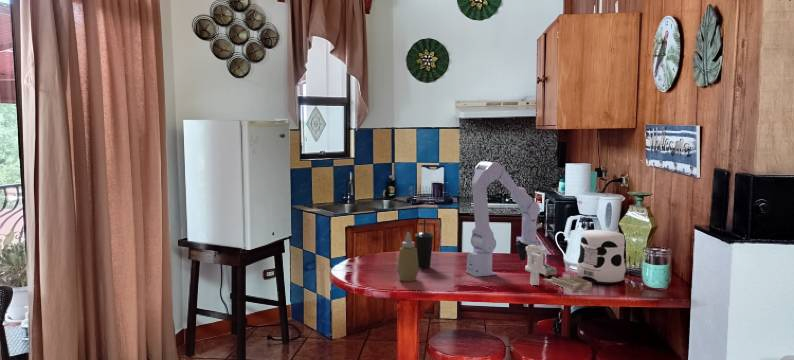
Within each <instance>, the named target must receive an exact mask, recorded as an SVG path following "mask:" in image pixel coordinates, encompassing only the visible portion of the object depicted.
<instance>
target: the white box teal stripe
mask: <svg viewBox="0 0 794 360" xmlns="http://www.w3.org/2000/svg"><path fill="white" fill-rule="evenodd" d="M543 266H544V267H545V271H544V272H539V274H542V275H544V276H543V277H544V279H548V278H549V276H550V275H551V276H552V277H555V278H556V277H557V274H558V273H557V272H558V271H557V269H558V268H557V267H554V266H551V265H549V264H547V263H546V264H543ZM552 277H551V278H552Z"/></svg>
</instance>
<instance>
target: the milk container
mask: <svg viewBox="0 0 794 360" xmlns="http://www.w3.org/2000/svg"><path fill="white" fill-rule="evenodd" d="M579 243H580V244H579V257H578V259H577V263H576V272H577V273H576V274H577V275H578V276H577V277H579V278H581V279H584V280H586V281H589V282H592V284H593V283H594V284H599V285H612V284H618V283H621V282H623V281H624V279H625V277H626V263H625V258H624V254H625V243H626V242H625V235H624V234H623V233H621V232H617V231H612V230H606V229H605V230H604V229H587V230H584V231H581V233H580V242H579Z"/></svg>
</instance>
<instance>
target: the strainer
mask: <svg viewBox="0 0 794 360" xmlns="http://www.w3.org/2000/svg"><path fill="white" fill-rule="evenodd" d="M536 249H540V250H536ZM546 251H547V249H546V247H545V246H543V245H542V246H536V245H533V244H532V245H528V246H526V256H527V264H526V265H525V267H524V270H525V271H526V272H530V275H529V277H530V279H529V280H530V281H529V285H530V284H531V285H530V286H533V285H538V286H539V285H540V273H539V272H544V271H545V267H544V266H543V265H544V254H545V253H546ZM538 253H540V254H538Z"/></svg>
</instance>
